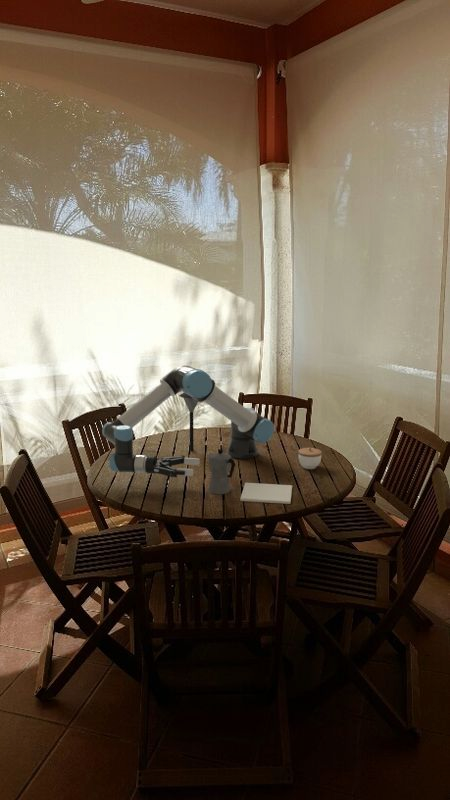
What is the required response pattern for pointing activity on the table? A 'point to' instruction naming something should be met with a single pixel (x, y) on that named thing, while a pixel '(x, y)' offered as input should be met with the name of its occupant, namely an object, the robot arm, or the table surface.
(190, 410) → the solar garden light
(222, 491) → the coffeepot
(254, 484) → the placemat
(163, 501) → the table surface
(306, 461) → the lidded jar
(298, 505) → the table surface
